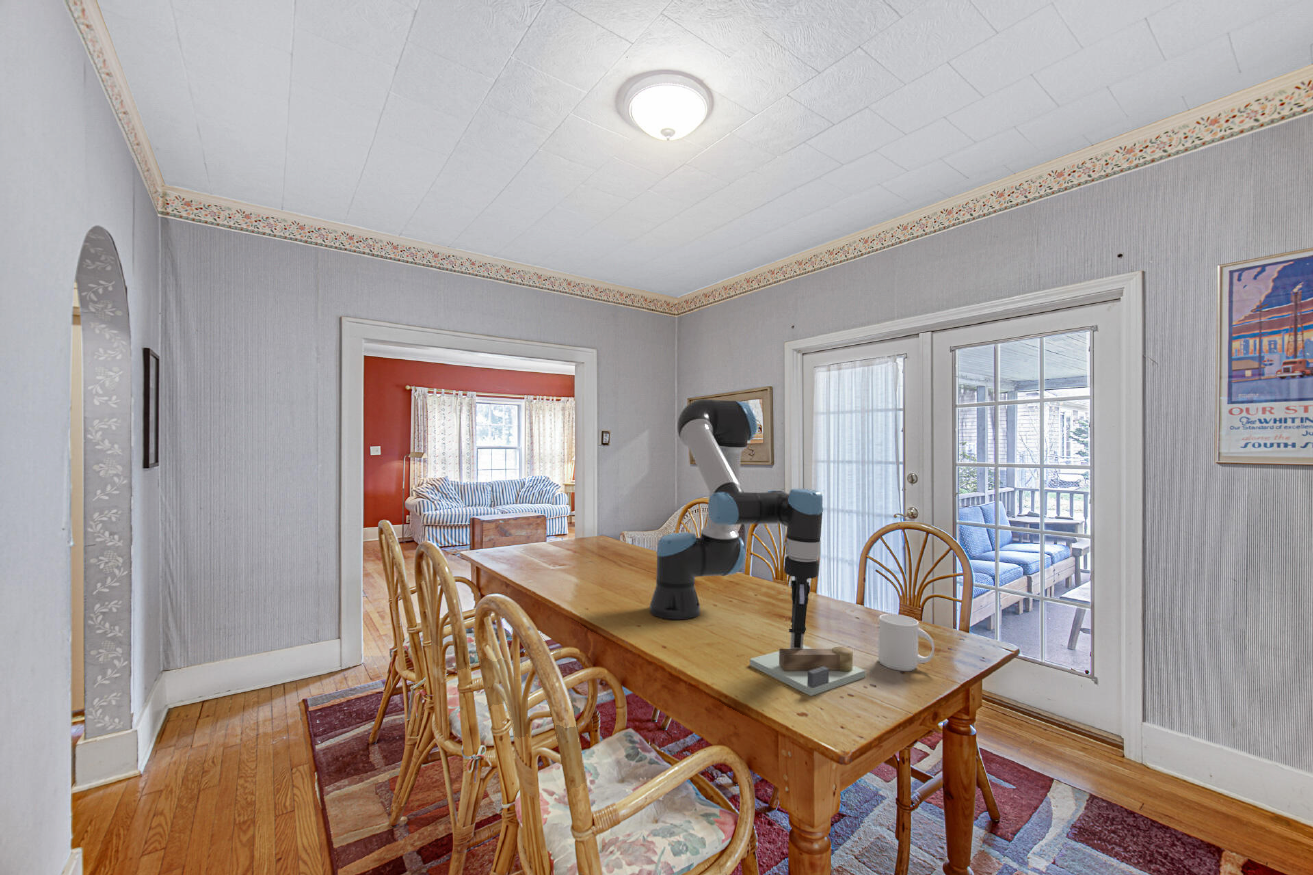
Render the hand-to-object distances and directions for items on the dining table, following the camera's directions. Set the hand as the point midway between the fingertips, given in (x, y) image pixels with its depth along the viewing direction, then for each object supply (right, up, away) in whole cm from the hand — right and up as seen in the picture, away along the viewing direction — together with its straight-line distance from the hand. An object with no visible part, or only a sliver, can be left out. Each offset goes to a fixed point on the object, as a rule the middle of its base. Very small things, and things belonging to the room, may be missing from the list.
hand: (795, 659), depth 126 cm
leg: (+4, -1, -3) cm, 5 cm away
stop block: (+2, -1, -11) cm, 11 cm away
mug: (+27, -3, +4) cm, 27 cm away
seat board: (+2, -2, -1) cm, 3 cm away
